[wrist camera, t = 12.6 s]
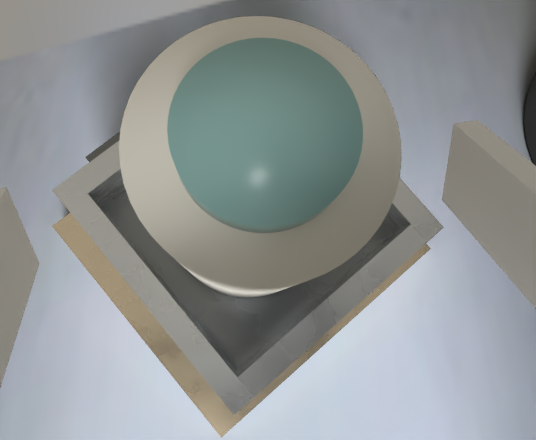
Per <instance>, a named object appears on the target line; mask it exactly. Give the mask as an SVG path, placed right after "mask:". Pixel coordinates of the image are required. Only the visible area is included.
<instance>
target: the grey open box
mask: <svg viewBox="0 0 536 440" xmlns="http://www.w3.org/2000/svg"><path fill="white" fill-rule="evenodd" d="M119 140H120V132H119V133H118V134H116V135H115V136H113V137H112V138H111V139H109V140H108V141H107V142H105V143H104V144H103V145H101V146H100V147H99V148H97V149H96V150H94V151H93V152H92V153H90V154H89V155H88V156H86V158H87V160H88V161H89V163H88V164H87V165H85V166H84V167H83V168H81V169H80V170H79V171H77V172H76V173H75V174H73V175H72V176H71V177H69V178H68V179H67V180H65V181H64V182H62V183H61V184H60V185H58V186H57V187H56V188H54V189H53V190H52V191H53V192H54V193H55V194H56V196H57V197H58V198H59V199H60V201H61V202H62V203H63V204H64V206H65V207H66V208H67V209H68V210H69V212H70V213H69V214H68V215H66V216H65V217H64V218H63V219H61V220H60V221H59V222H57V223H56V224H55V225H53V226H52V227H53V228H54V229H55V230H56V232H57V233H58V234H59V235H60V237H61V238H62V239H63V240H64V242H65V243H66V244H67V245H68V247H69V248H70V249H71V250H72V252H73V253H74V254H75V255H76V257H77V258H78V259H79V260H80V262H81V263H82V264H83V265H84V267H85V268H86V269H87V270H88V272H89V273H90V274H91V275H92V276H93V278H94V279H95V280H96V281H97V283H98V284H99V285H100V286H101V288H102V289H103V290H104V291H105V293H106V294H107V295H108V296H109V298H110V299H111V300H112V301H113V303H114V304H115V305H116V306H117V308H118V309H119V310H120V311H121V313H122V314H123V315H124V316H125V318H126V319H127V320H128V321H129V323H130V324H131V325H132V326H133V328H134V329H135V330H136V331H137V333H138V334H139V335H140V336H141V338H142V339H143V340H144V341H145V343H146V344H147V345H148V346H149V348H150V349H151V350H152V351H153V353H154V354H155V355H156V356H157V358H158V359H159V360H160V361H161V363H162V364H163V365H164V366H165V368H166V369H167V370H168V371H169V373H170V374H171V375H172V376H173V378H174V379H175V380H176V381H177V383H178V384H179V385H180V386H181V388H182V389H183V390H184V391H185V393H186V394H187V395H188V396H189V398H190V399H191V400H192V401H193V403H194V404H195V405H196V406H197V408H198V409H199V410H200V411H201V413H202V414H203V415H204V416H205V418H206V419H207V420H208V421H209V423H210V424H211V425H212V426H213V428H214V429H215V430H216V431H217V433H218V434H219V435H220V436H221V437H222V436H224V435H225V434H226V433H227V432H228V431H229V430H230V429H231V428H232V427H233V426H235V425H236V424H237V423H238V422H239V421H240V420H241V419H242V418H243V417H245V416H246V415H247V414H248V413H249V412H250V411H251V410H252V409H253V408H255V407H256V406H257V405H258V404H259V403H260V402H261V401H262V400H263V399H265V398H266V397H267V396H268V395H269V394H270V393H271V392H272V391H273V390H274V389H276V388H277V387H278V386H279V385H280V384H281V383H282V382H283V381H284V380H286V379H287V378H288V377H289V376H290V375H291V374H292V373H293V372H294V371H296V370H297V369H298V368H299V367H300V366H301V365H302V364H303V363H304V362H306V361H307V360H308V359H309V358H310V357H311V356H312V355H313V354H314V353H316V352H317V351H318V350H319V349H320V348H321V347H322V346H323V345H324V344H325V343H327V342H328V341H329V340H330V339H331V338H332V337H333V336H334V335H335V334H337V333H338V332H339V331H340V330H341V329H342V328H343V327H344V326H345V325H347V324H348V323H349V322H350V321H351V320H352V319H353V318H354V317H355V316H357V315H358V314H359V313H360V312H361V311H362V310H363V309H364V308H365V307H366V306H368V305H369V304H370V303H371V302H372V301H373V300H374V299H375V298H376V297H378V296H379V295H380V294H381V293H382V292H383V291H384V290H385V289H386V288H388V287H389V286H390V285H391V284H392V283H393V282H394V281H395V280H396V279H398V278H399V277H400V276H401V275H402V274H403V273H404V272H405V271H406V270H408V269H409V268H410V267H411V266H412V265H413V264H414V263H415V262H416V261H417V260H419V259H420V258H421V257H422V256H423V255H424V254H425V253H426V252H427V251H429V250H430V247H429V246H428V245H427V244H426V243H427V242H428V241H429V240H430V239H431V238H432V237H434V236H435V235H436V234H437V233H438V232H439V231H440V230H441V229H442V228H444V227H443V226H442V225H441V224H440V223H439V221H438V220H437V219H436V218H435V217H434V216H433V215H432V214H431V212H430V211H429V210H428V209H427V208H426V207H425V206H424V205H423V203H422V202H421V201H420V200H419V199H418V198H417V197H416V195H415V194H414V193H413V192H412V191H411V190H410V189H409V188H408V186H407V185H406V184H405V183H404V182H403V181H402V180H401V179H400V177H399V182H398V186H397V190H396V194H395V196H394V199H393V202H392V204H391V207H390V209H389V211H388V213H387V215H386V217H385V219H384V220H383V222H382V224H381V226H380V227H379V228H378V230H377V231H376V232H375V234H374V235H373V236H372V238H371V239H370V240H369V241H368V242H367V243H366V244H365V245H364V246H363V247H362V248H361V249H360V250H359V251H358V252H357V253H356V254H355V255H354V256H352V257H351V258H350V259H348V260H347V261H346V262H344V263H343V264H342V265H340V266H338V267H337V268H335V269H333V270H331V271H330V272H328V273H326V274H324V275H321V276H319V277H316V278H314V279H311V280H309V281H306V282H303V283H300V284H298V285H295V286H292V287H289V288H287V289H284V290H281V291H278V292H275V293H273V294H269V295H265V296H261V297H253V298H241V297H234V296H229V295H226V294H222V293H220V292H217V291H215V290H213V289H211V288H209V287H208V286H206V285H204V284H203V283H202V282H200V281H199V280H198V279H197V278H195V277H194V276H193V275H192V274H191V273H190V272H189V271H188V270H186V269H185V268H184V267H183V266H182V265H181V264H180V263H179V262H178V261H176V260H175V259H174V258H173V257H172V256H171V255H170V254H169V253H168V252H166V251H165V250H164V249H163V248H162V247H161V246H160V245H159V244H158V243H157V241H156V240H155V239H154V238H153V237H152V236H151V235H150V234H149V232H148V231H147V230H146V228H145V227H144V225H143V224H142V223H141V221H140V220H139V218H138V216H137V214H136V212H135V211H134V209H133V207H132V205H131V203H130V200H129V198H128V195H127V192H126V189H125V186H124V183H123V178H122V173H121V169H120V157H119Z"/></svg>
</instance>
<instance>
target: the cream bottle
mask: <svg viewBox="0 0 536 440" xmlns="http://www.w3.org/2000/svg"><path fill="white" fill-rule="evenodd" d="M119 157H120V169H121V173H122V178H123V183H124V186H125V189H126V192H127V195H128V198H129V200H130V203H131V205H132V207H133V209H134V211H135V212H136V214H137V216H138V218H139V220H140V221H141V223H142V224H143V225H144V227H145V228H146V230H147V231H148V232H149V234H150V235H151V236H152V237H153V238H154V239H155V240H156V241H157V243H158V244H159V245H160V246H161V247H162V248H163V249H164V250H165V251H166V252H168V253H169V254H170V255H171V256H172V257H173V258H174V259H175V260H176V261H178V262H179V263H180V264H181V265H182V266H183V267H184V268H185V269H186V270H188V271H189V272H190V273H191V274H192V275H193V276H194V277H195V278H197V279H198V280H199V281H200V282H202V283H203V284H204V285H206V286H208V287H209V288H211V289H213V290H215V291H217V292H220V293H222V294H226V295H229V296H234V297H241V298H253V297H261V296H265V295H269V294H273V293H275V292H278V291H281V290H284V289H287V288H289V287H292V286H295V285H298V284H300V283H303V282H306V281H309V280H311V279H314V278H316V277H319V276H321V275H324V274H326V273H328V272H330V271H331V270H333V269H335V268H337V267H338V266H340V265H342V264H343V263H344V262H346V261H347V260H348V259H350V258H351V257H352V256H354V255H355V254H356V253H357V252H358V251H359V250H360V249H361V248H362V247H363V246H364V245H365V244H366V243H367V242H368V241H369V240H370V239H371V238H372V236H373V235H374V234H375V232H376V231H377V230H378V228H379V227H380V226H381V224H382V222H383V220H384V219H385V217H386V215H387V213H388V211H389V209H390V207H391V204H392V202H393V199H394V196H395V194H396V190H397V186H398V182H399V177H400V169H401V139H400V133H399V127H398V123H397V120H396V116H395V113H394V110H393V107H392V105H391V103H390V100H389V98H388V96H387V94H386V92H385V90H384V88H383V87H382V85H381V83H380V82H379V80H378V79H377V77H376V76H375V75H374V73H373V72H372V71H371V70H370V68H369V67H368V66H367V65H366V63H365V62H364V61H363V60H362V59H361V58H359V57H358V56H357V55H356V54H355V53H354V52H353V51H352V50H351V49H349V48H348V47H347V46H345V45H344V44H343V43H342V42H340V41H339V40H337V39H335V38H334V37H332V36H330V35H329V34H327V33H325V32H323V31H321V30H319V29H316V28H314V27H312V26H309V25H307V24H303V23H300V22H297V21H293V20H289V19H284V18H278V17H268V16H246V17H236V18H231V19H226V20H221V21H218V22H215V23H211V24H208V25H205V26H203V27H201V28H199V29H196V30H194V31H192V32H190V33H188V34H186V35H185V36H183V37H182V38H180V39H178V40H177V41H175V42H174V43H173V44H171V45H170V46H169V47H168V48H166V49H165V50H164V51H163V52H162V53H160V54H159V56H158V57H157V58H156V59H155V60H154V61H153V62H152V63H151V64H150V65H149V66H148V68H147V69H146V70H145V72H144V73H143V75H142V76H141V77H140V79H139V80H138V82H137V84H136V86H135V88H134V90H133V92H132V93H131V95H130V98H129V100H128V103H127V106H126V109H125V112H124V115H123V120H122V125H121V129H120V140H119Z"/></svg>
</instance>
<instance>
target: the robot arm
mask: <svg viewBox="0 0 536 440" xmlns="http://www.w3.org/2000/svg"><path fill="white" fill-rule="evenodd" d="M524 123H525V134H526V140H527V144H528V149H529V152H530V155H531V158H532V160H533V163H534V164H533V163H532V162H530V161H529V160H528V159H526V158H525V157H524V156H523V155H521V154H520V153H519V152H517V151H516V150H515V149H514V148H512V147H511V146H510V145H508V144H507V143H506V142H505V141H503V140H502V139H501V138H500V137H498V136H497V135H496V134H494V133H493V132H492V131H491V130H489V129H488V128H487V127H485V126H484V125H483V124H482V123H480V122H479V121H478V120H476V121H469V122H462V123H455V124H454V126H453V132H452V139H451V145H450V151H449V158H448V164H447V171H446V177H445V183H444V190H443V196H442V200H443V202H444V203H445V204H446V205H447V206H448V207H449V208H450V210H451V211H452V212H453V213H454V214H455V215H456V217H457V218H458V219H459V220H460V221H461V222H462V224H463V225H464V226H465V227H466V228H467V229H468V231H469V232H470V233H471V234H472V235H473V236H474V238H475V239H476V240H477V241H478V242H479V243H480V245H481V246H482V247H483V248H484V249H485V250H486V252H487V253H488V254H489V255H490V256H491V257H492V259H493V260H494V261H495V262H496V263H497V264H498V265H499V267H500V268H501V269H502V270H503V271H504V272H505V274H506V275H507V276H508V277H509V278H510V279H511V281H512V282H513V283H514V284H515V285H516V286H517V288H518V289H519V290H520V291H521V292H522V293H523V295H524V296H525V297H526V298H527V299H528V300H529V302H530V303H531V304H532V305H533V306H534V307H535V309H536V74H535V76H534V78H533V80H532V83H531V85H530V88H529V91H528V94H527V99H526V105H525V115H524ZM38 266H39V261H38V259H37V257H36V254H35V252H34V250H33V247H32V245H31V243H30V240H29V238H28V236H27V233H26V231H25V229H24V226H23V224H22V222H21V219H20V217H19V215H18V212H17V210H16V208H15V205H14V203H13V201H12V198H11V196H10V194H9V191H8V189H7V187H4V188H0V387H1V384H2V381H3V378H4V374H5V371H6V368H7V365H8V362H9V358H10V355H11V352H12V349H13V346H14V343H15V339H16V336H17V333H18V330H19V327H20V323H21V320H22V317H23V314H24V311H25V307H26V304H27V301H28V298H29V295H30V292H31V288H32V285H33V282H34V279H35V276H36V272H37V269H38Z"/></svg>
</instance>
